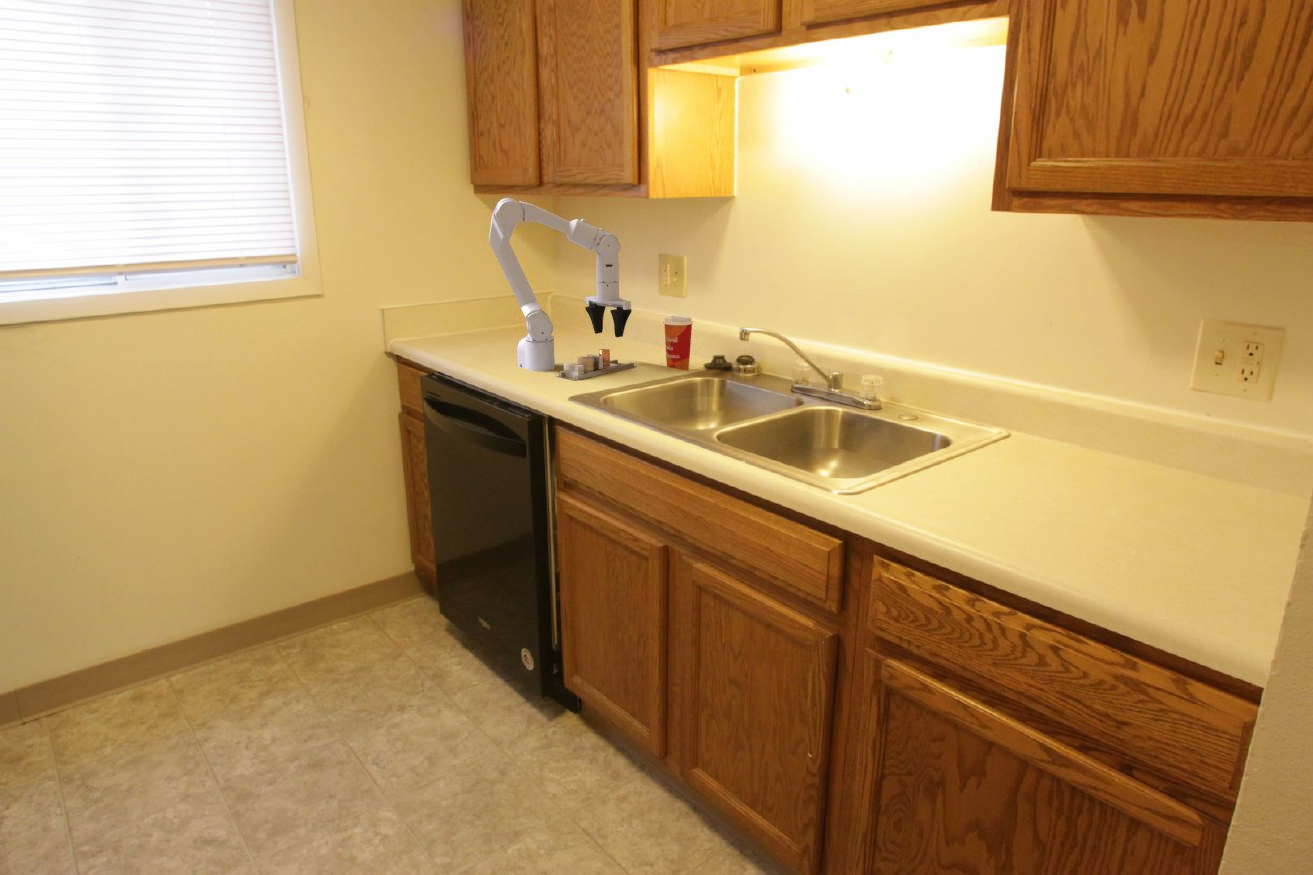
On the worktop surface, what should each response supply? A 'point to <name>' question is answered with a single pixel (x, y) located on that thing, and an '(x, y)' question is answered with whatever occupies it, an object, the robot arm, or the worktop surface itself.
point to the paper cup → (678, 341)
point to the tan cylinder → (586, 363)
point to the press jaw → (602, 360)
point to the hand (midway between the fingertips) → (608, 334)
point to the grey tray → (577, 372)
